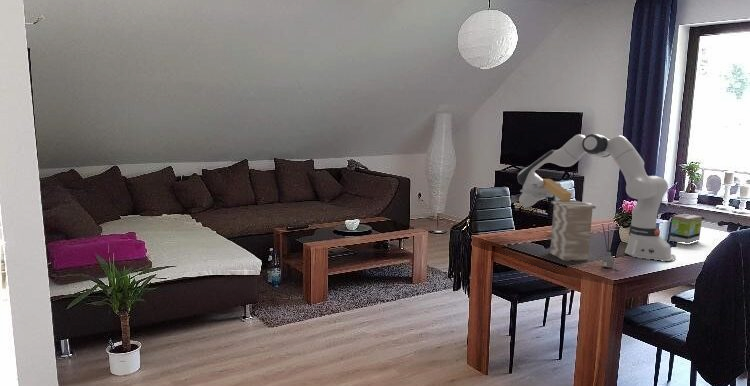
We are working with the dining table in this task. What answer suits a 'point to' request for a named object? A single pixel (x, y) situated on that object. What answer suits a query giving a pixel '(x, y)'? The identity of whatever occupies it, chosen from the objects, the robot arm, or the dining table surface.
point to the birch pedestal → (571, 230)
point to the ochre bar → (557, 190)
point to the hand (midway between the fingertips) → (548, 182)
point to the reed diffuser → (609, 253)
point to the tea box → (685, 228)
